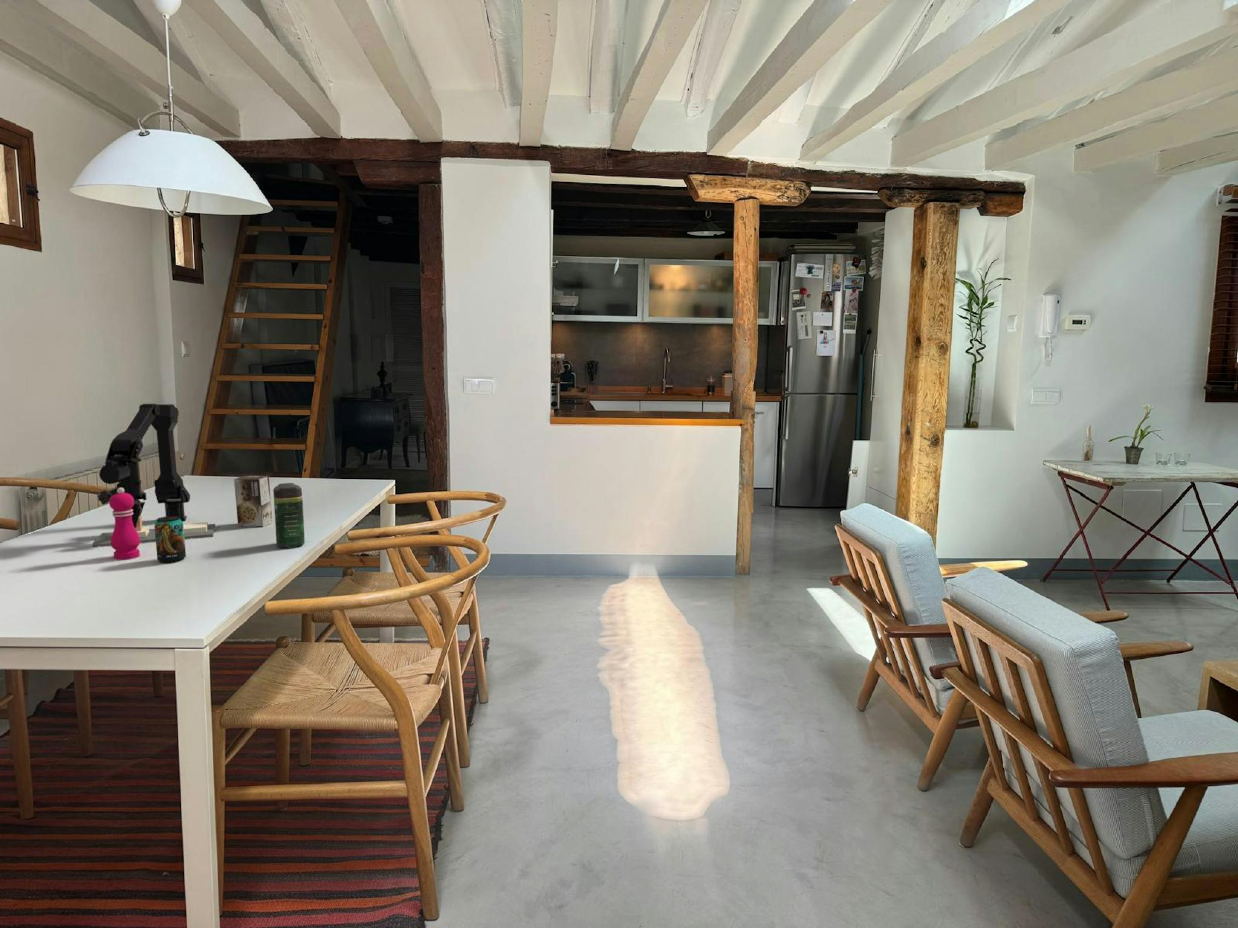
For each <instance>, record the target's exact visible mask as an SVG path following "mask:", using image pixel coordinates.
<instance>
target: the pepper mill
mask: <svg viewBox="0 0 1238 928" xmlns="http://www.w3.org/2000/svg"><path fill="white" fill-rule="evenodd" d="M117 492H118V493H117V494H115V495H113V496H112V497H111V498H110V500H109V502H108V505H109V507H110V508H111V509H112V510H113V511H111V513H112V517H113V518H114V529H113V531H112V532H113V534H112V537H111V546H110V547H111V548H112V549H113V550H115V551H114V552H113V559H114V560H118V561H122V560H123V561H124V560H131V559H132V558H133V559H135V558H138V557H140V556H141V555H140V554H141V553H140V549H139V548H138V547H139V546H140V544H141V543H140V537H139V534H138V533H137V531H136V529H135V528H134V525H133V522H132V515H133V509H131V508H132V507H133V505H134V498H133V497H132V496H131V495H130V494H128V493H124V489H123V488H118V489H117ZM133 559H132V560H133Z"/></svg>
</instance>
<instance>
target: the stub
mask: <svg viewBox="0 0 1238 928" xmlns="http://www.w3.org/2000/svg"><path fill="white" fill-rule="evenodd" d="M142 517H143V516H142V515H141V516H139V518H138V521H137V525H136V528H135V529H136V531H137V533H138V534H139V537H146V536H147V534H148V533H149V529H150V526H143V518H142Z"/></svg>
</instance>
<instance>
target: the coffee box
mask: <svg viewBox="0 0 1238 928" xmlns="http://www.w3.org/2000/svg"><path fill="white" fill-rule="evenodd" d="M233 482H234V495H235V505H236V506H235V507H236V519H237V527H257V526H263V527H266V526H268V525H271V524H273V515H272V512H273V511H272V500H271V498H272V497H271V488H270V487H271V486H270V476H269V475H242V476H239V477H236V478H234V479H233Z"/></svg>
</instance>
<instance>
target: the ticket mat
mask: <svg viewBox="0 0 1238 928" xmlns="http://www.w3.org/2000/svg"><path fill="white" fill-rule="evenodd" d="M183 526H184V538H185V540H189V539H190V538H192V539H201V538H211V537H212V538H213V537H214V533H215V530H216V523H208V522H207V521H203V522H193V523H192V522H191V523H183ZM112 534H113V531H110V532H102V533H100V534H99V536H98V537H97V539H96V540H95V541H94V542H93V543H92V548H97V546H101V547H111V537H112ZM153 542H154V543H156V539H155V528H149V533H148V534H147V536H146V537H140V544H144V543H153Z"/></svg>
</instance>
